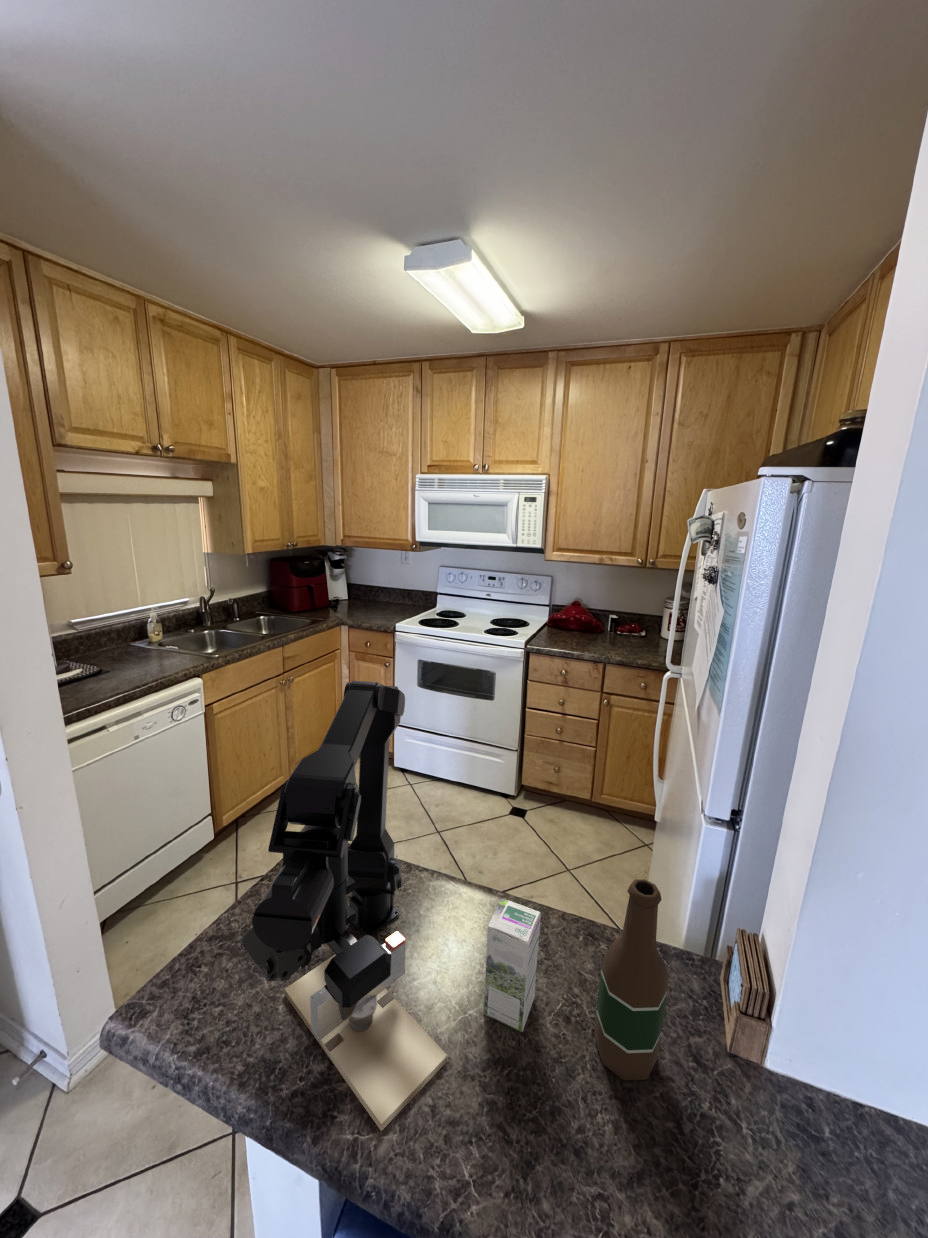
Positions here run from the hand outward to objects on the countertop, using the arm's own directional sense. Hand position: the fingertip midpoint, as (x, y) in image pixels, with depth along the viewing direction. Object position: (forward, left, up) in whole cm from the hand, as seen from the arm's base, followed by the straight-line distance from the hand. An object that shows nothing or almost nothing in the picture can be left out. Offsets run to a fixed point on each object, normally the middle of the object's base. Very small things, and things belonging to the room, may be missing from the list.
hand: (324, 990), depth 59 cm
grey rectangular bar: (-5, 0, -7) cm, 9 cm away
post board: (-5, 0, -10) cm, 11 cm away
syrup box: (-21, +12, -10) cm, 26 cm away
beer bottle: (-27, +26, -10) cm, 39 cm away
